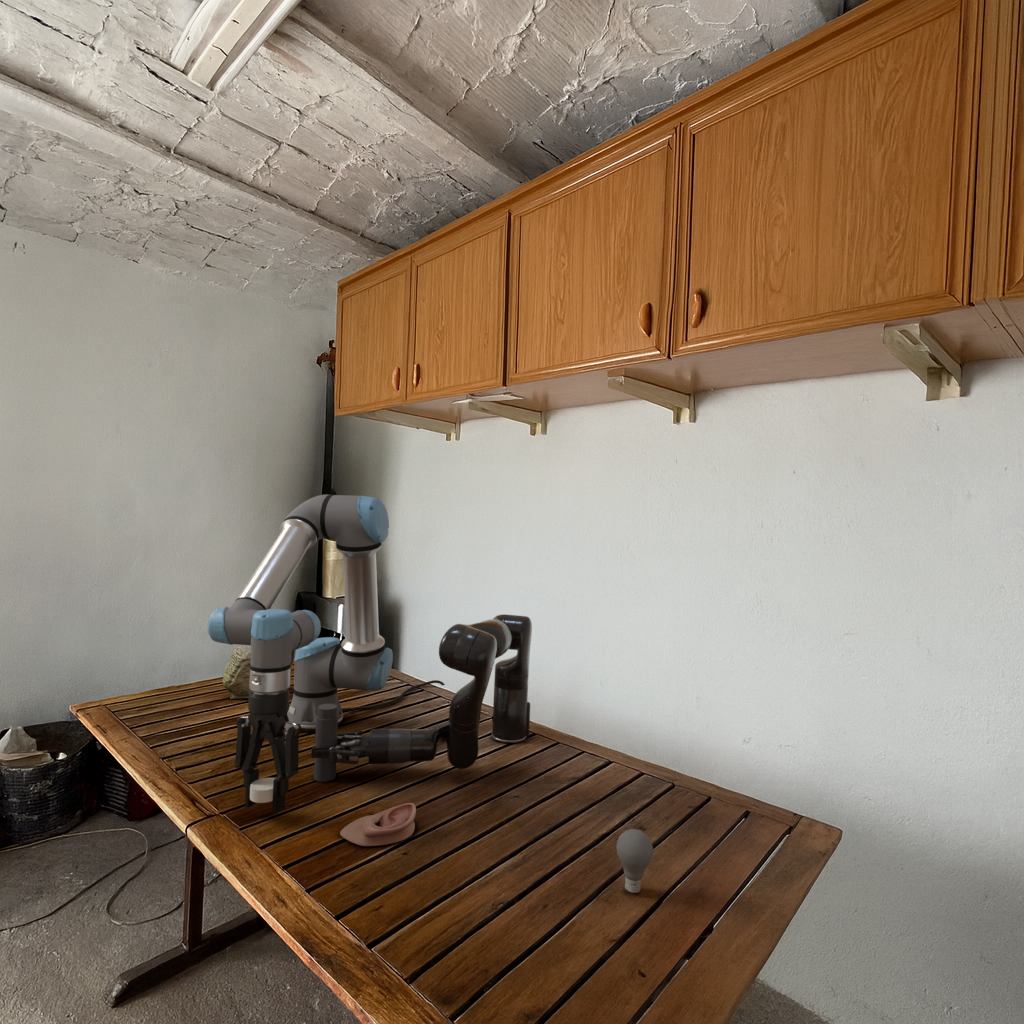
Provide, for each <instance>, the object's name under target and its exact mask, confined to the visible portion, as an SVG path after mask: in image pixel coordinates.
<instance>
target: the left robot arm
mask: <svg viewBox="0 0 1024 1024" xmlns="http://www.w3.org/2000/svg"><path fill="white" fill-rule="evenodd" d="M389 528H390V521H389V513H388V510H387V508H386V505H385V504H384V502H383V501H382V500H381V499H380V498H378V497H375V496H366V495H349V494H348V495H347V494H346V495H345V494H320V495H316V496H314V497H311V498H309V499H307V500H305V501H304V502H302V503H301V504H299V505H297V506H296V507H295V508H294V509H293V510H292V511H290V512H289V513H288V515H286V517H285V518H284V519H283V521H282V522H281V524H280V526H279V534H278V536H277V537H276V539H275V541H274V542H273V544H272V545H271V547H270V548H269V549H268V551H267V552H266V554H265V555H264V557H263V559H262V560H261V561H260V562H259V564H258V566H257V567H256V568H255V571H254V572H253V574H252V575H251V576H250V578H249V579H248V581H247V582H246V584H245V585H244V587H243V589H242V590H241V591H240V593H239V594H238V596H237V597H236V599H235V600H234V602H233V603H232V605H231V606H230V607H228V606H225V607H218V608H217V609H214V611H212V612H211V614H210V616H209V618H208V623H207V633H208V635H209V637H210V639H211V641H213V642H216V643H219V644H225V645H231V646H232V645H237V646H238V645H239V646H250V649H251V665H250V683H249V689H250V690H251V692H250V693H249V698H248V707H247V708H248V709H247V710H248V712H249V713H248V714H245V715H242V716H239V717H238V718H236V719H235V725H236V729H237V732H236V733H237V734H236V745H235V746H236V747H235V759H234V767H235V768H236V769H241V770H242V772H243V785H242V786H243V788H244V789H245V799H244V800H245V801H244V807H245V808H246V809H249V808H251V807H252V806H254V805H255V804H257V803H256V802H253V801H251V800H250V785H251V783H252V782H254V781H256V780H259V779H260V769H259V768H257V767H259V765H258V761H259V757H260V754H261V751H262V747H263V744H264V740H265V739H266V740H267V742H268V745H269V746H270V747H271V752H272V758H273V762H274V768H275V772H276V777H275V778H276V779H274V781H273V801H272V807H271V808H272V809H271V810H272V811H271V813H272V814H274V815H276V814H278V813H280V812H281V811H282V810H284V809H285V807H286V795H287V794H288V792H289V783H290V782H289V781H290V778H292V777H294V776H296V775H297V774H299V740H300V739H299V735H300V733H316V716H317V715H318V706H320V705H322V704H335V705H337V709H338V710H337V715H338V727H339V726H340V725H342V723H343V722H344V713H343V712H354V711H361V710H362V711H363V710H370V709H377V708H382V707H385V706H389V705H392V704H393V703H396V702H397V701H399V700H401V699H402V698H403V697H404V696H405V695H406V694H408V693H409V692H411V691H412V690H415V689H418V688H422V687H425V686H428V685H431V684H439V685H441V686H445V685H446V684H445V683H444V682H443V681H441V680H438V679H437V680H436V679H434V680H428V681H426V682H423V683H419V684H416V685H413V686H411V687H408V688H407V689H406V690H404V691H403V692H401V694H400V695H398V696H396V697H395V698H393V699H391V700H388V701H385V702H381V703H378V704H377V703H376V704H371V705H364V706H362V705H361V706H353V707H343V708H342V706H341V702H340V699H339V695H338V689H346V690H357V691H365V692H368V691H370V692H371V691H373V692H377V691H378V692H379V691H381V690H382V689H383V688H384V687H385V685H386V684H387V682H388V680H389V678H390V674H391V671H392V667H393V660H394V653H393V650H392V648H389V647H386V640H385V638H384V637H383V636H382V635H380V628H379V627H380V626H379V625H380V624H379V601H378V599H379V598H378V572H377V552H378V551H379V550H380V549H381V548H382V543H383V542H385V541H386V540H387V538H388V536H389ZM319 540H334V541H335V549H336V550H337V551H338V552H339V553H340V554H341V555H342V571H343V572H342V573H343V585H344V586H343V590H344V591H343V593H344V611H345V612H344V613H345V633H346V637H345V638H344V639H343V640H342V641H340V639H339V638H338V637H334V636H325V637H319V635H320V633H321V629H322V625H321V620H320V618H319V617H318V615H317V614H316V613H315V612H314V611H311V610H307V609H302V610H300V609H298V610H296V611H293V612H291V611H290V610H288V609H283V608H273V607H274V605H275V603H276V602H277V600H278V599H279V597H280V595H281V593H282V592H283V590H284V588H285V587H286V585H287V583H288V582H289V580H290V579H291V577H292V575H293V574H294V572H295V570H296V569H297V567H298V565H299V564H300V562H301V561H302V559H303V557H304V555H305V554H306V552H307V550H309V549H312V548H313V547H314V546H316V544H317V542H318V541H319ZM293 652H294V653H295V654H294V659H293V661H294V672H293V695H292V696H293V697H292V699H291V691H290V689H289V688H290V687H291V678H292V677H291V673H292V672H291V671H292V653H293ZM290 699H291V702H290Z"/></svg>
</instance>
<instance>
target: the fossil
mask: <svg viewBox="0 0 1024 1024" xmlns="http://www.w3.org/2000/svg"><path fill="white" fill-rule="evenodd" d="M250 665H251V647H247V646H246V647H245V646H238V647H237V648H236V649H235V650H233V651H232V653H231V656H230V657H229V659H228V660H227V663H226V666H225V668H224V671H223V675H222V676H223V677H222V685H223V687H224V688H225V690H226V691H228V693H229V698H230V699H249V693H250V692H251V690H250V689H249V683H250Z"/></svg>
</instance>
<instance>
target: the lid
mask: <svg viewBox="0 0 1024 1024" xmlns="http://www.w3.org/2000/svg"><path fill="white" fill-rule="evenodd" d="M276 778H277V777H262V778H259V780H256V781H254V782H252V783H251V785H250V800H251V801H253V802H256V803H255V804H266V803H271V802H273V781H274V779H276Z"/></svg>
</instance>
